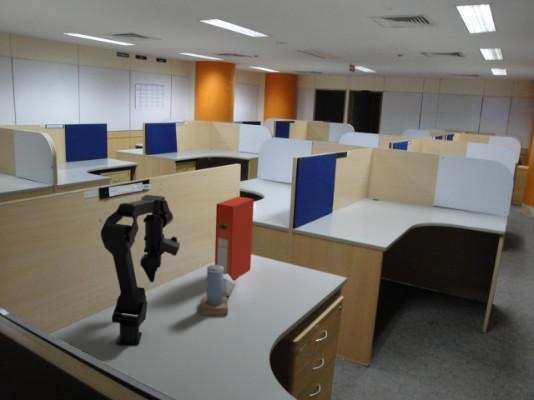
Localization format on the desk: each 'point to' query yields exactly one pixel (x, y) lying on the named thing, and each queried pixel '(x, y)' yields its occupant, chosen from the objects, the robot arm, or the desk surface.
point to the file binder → (234, 235)
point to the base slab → (214, 307)
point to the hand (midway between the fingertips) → (153, 276)
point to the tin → (214, 285)
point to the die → (227, 285)
